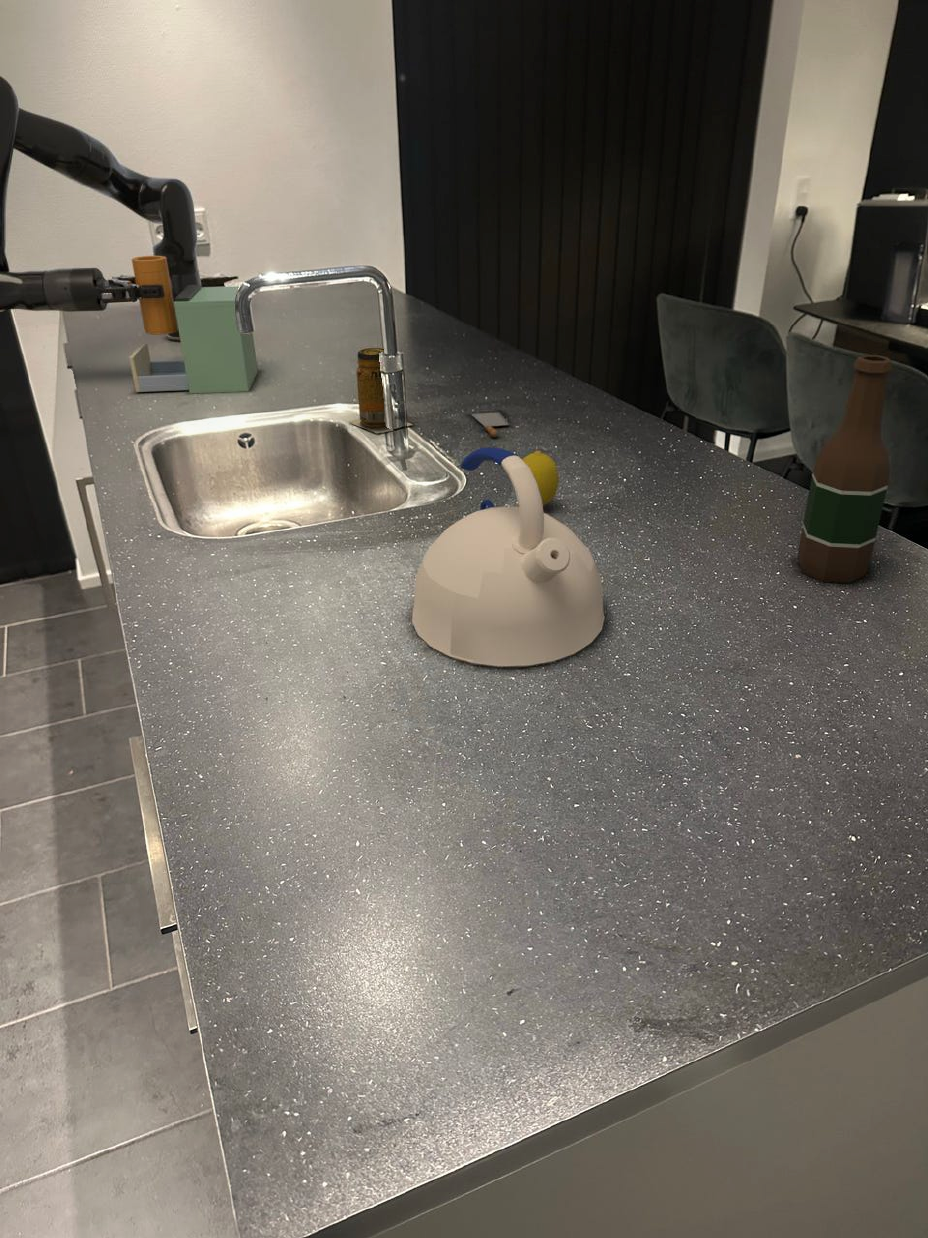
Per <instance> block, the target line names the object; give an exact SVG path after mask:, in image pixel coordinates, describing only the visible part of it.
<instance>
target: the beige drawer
mask: <svg viewBox="0 0 928 1238" xmlns="http://www.w3.org/2000/svg"><path fill="white" fill-rule="evenodd" d="M128 360H129V364H130V369H131V374H132V379H133V384H134V387H135V388H134V389H135V392H136V393H144V392H169V391H170V392H171V391H172V392H173V391H174V392H175V391H189V387H188V381H187V375H186V370H185V364H184V360H164V361H162V360H161V361H152V360H151V356H150V351H149V346H148V342H143V343H142V344H140V345H139V346H138V347H137V349H136V350H135V351H134V352H133V353H132V354H131V355H130V356H128Z"/></svg>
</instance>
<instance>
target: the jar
mask: <svg viewBox="0 0 928 1238" xmlns="http://www.w3.org/2000/svg"><path fill="white" fill-rule="evenodd" d="M131 263H132V269H133V274H134V275H133V276H135V281H136V284H139V285H141V287H142V285H163V287H164V293H165V296H164V297H163V298H144V297H143V299H142V300H138V301H139V307H140V312H141V318H142V323H143V329H144V332H145V334H146V335H151V336H153V335H154V336H161V335H167V334H170V333H174V332H176V331H178V324H177V318H176V313H175V307H174V300H173V294H172V288H171V282H170V276H169V270H168V265H167V259H166V257H164V256H153V255H143V256H136V257H133V258H132V259H131Z"/></svg>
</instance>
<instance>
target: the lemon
mask: <svg viewBox="0 0 928 1238" xmlns="http://www.w3.org/2000/svg"><path fill="white" fill-rule="evenodd" d="M522 460H523V461H524V462H525V464H526V465H527V466H528V467H529V468H530V470H531V472H532V474H533V476H534V478H535V480H536V482H537V485H538V488H539V492H540V495H541V499H542V505H543V506H546V505H547V504H548V503H550V502H551V501H552V500H553V499H554V497H555V496H556V494H557V491H558V487H559V472H558V468H557V465H556V463H555V461H554V460H553V458H552V457H551V456H549V455H547V454H545V453H543V452H542V451H540V450H535V451H534V452H532V453H529V454H528V455H526V456H525V457H524V458H522Z"/></svg>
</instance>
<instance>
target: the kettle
mask: <svg viewBox="0 0 928 1238" xmlns="http://www.w3.org/2000/svg"><path fill="white" fill-rule="evenodd" d="M486 461H487V462H488V461H491V462H493V463H495V464H497V465H499V466H501V468H502V467H503V469H504V471H505V472H506V474H507V475H508V477H509V479H510V481H511V483H512V485H513V488H514V491H515V495H516V499H517V503H518V506H494V503H493V502H492V501H491V500H490V499H485V500H482V501H481V503H480V506H479V510H476V511H474V512H472V513H470V514H467V515H466V516H464V517H462V518H461V519H459V520H458V521H456V522H454V523H453V524H451V525H450V526H448V528H446V529H445V530H444V531H443V532H442V533H441V534H440V535H439V536H438V537H437V538H436V539H435V541H434V542H433V543H432V544H431V545H430V546H429V548H428V549H427V551H426V553H425V554H424V556H423V558H422V561H421V563H420V565H419V568H418V570H417V573H416V575H415V577H414V578H415V581H414V598H413V600H414V601H413V609H412V618H411V619H412V620H411V622H412V625H413V627H414V629H415V631H416V633H417V635H418V637H420V638H421V639H422V640H423V641H424V642H425V643H426V644H427V645H428V646H429V647H431V648H432V649H434V650H436V651H437V652H439V653H441V654H443V655H445V656H447V657H449V658H451V659H453V660H458V661H462V662H465V663H467V664H468V663H469V664H472V665H477V666H484V667H491V668H492V667H493V668H528V667H533V666H539V665H546V664H551V663H555V662H556V661H560V660H562V659H565V658H568V657H571V656H573V655H575V654H576V653H577V652H579V651H581V650H583V649H584V648H585V647H587V646H589V645H590V644H592V643H593V641H595V639H596V638H597V637H598V635H599V634H600V633H601V632H602V631H603V627H604V621H605V614H604V595H603V594H604V593H603V592H604V591H603V582H602V579H601V575H600V573H599V568H598V567H597V564H596V562H595V560H594V558H593V555H592V552H591V551H590V549H588V547H587V546H586V545H585V544H584V543H583V542H582V540H581V539H580V538H579V537H578V536H577V535H576V533H575V532H573V530H572V529H571V528H570V527H568V526H566V525H565V524H563V523H562V522H560V521H559V520H557V519H556V518H554V517H552V516H551V515H549V514H548V513H546V512H544V505H542V499H541V495H540V492H539V488H538V485H537V482H536V480H535V478H534V476H533V474H532V472H531V470H530V468H529V467H528V466H527V465H526V464H525V462H524V461H523V458H521V456H520V455H518V454H517V453H514V452H513V451H510V450H508V449H504V448H500V447H495V446H494V447H493V446H491V447H490V446H489V447H481V448H478V449H476V450H473V451H471V452H470V453H469V454H468V455H466V456H465V457H464V459H463V460H462V462H461V463H460V468H461V469H462V470H464V471H468V472H470V471H476V470H478V469H479V467H480V466H481V465H482V464H483V463H484V462H486Z"/></svg>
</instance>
